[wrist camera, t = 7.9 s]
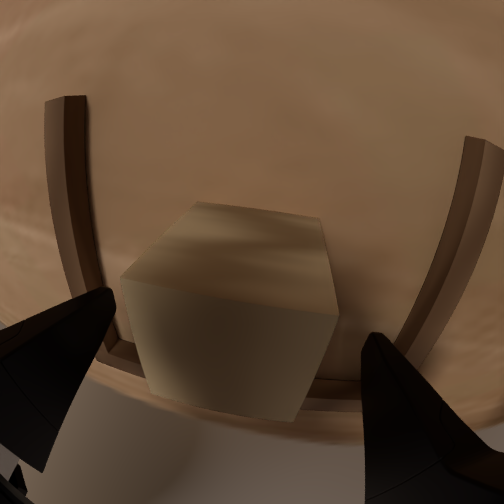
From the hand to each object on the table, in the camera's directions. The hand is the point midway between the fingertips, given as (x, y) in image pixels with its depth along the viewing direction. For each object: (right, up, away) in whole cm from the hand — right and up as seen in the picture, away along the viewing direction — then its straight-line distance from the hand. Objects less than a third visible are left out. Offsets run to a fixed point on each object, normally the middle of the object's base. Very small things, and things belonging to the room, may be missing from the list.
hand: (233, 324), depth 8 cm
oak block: (+1, +2, +4) cm, 4 cm away
